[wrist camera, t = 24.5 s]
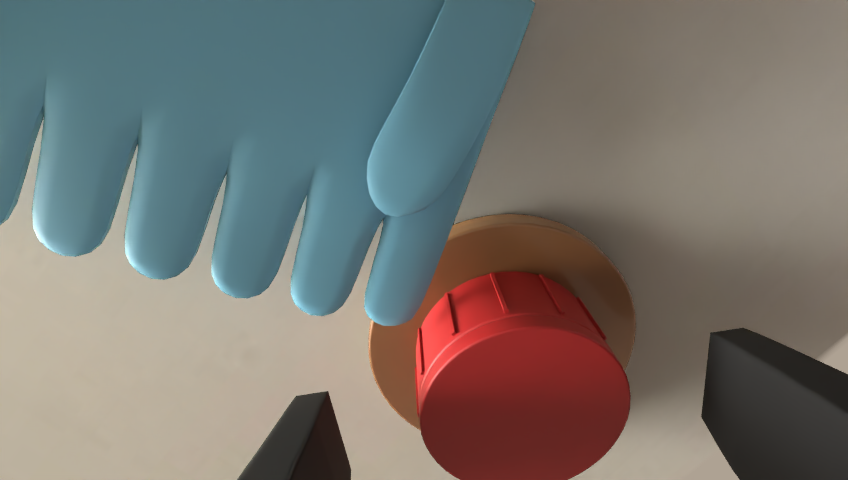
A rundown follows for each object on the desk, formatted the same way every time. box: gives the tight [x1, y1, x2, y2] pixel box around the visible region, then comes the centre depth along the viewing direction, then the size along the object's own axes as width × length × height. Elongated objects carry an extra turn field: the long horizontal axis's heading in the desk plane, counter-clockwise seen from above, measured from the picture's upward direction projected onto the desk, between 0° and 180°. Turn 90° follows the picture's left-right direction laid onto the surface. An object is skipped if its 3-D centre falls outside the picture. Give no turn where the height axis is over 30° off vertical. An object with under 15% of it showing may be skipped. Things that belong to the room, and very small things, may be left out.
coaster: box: [369, 214, 636, 430], centre depth 11 cm, size 6×6×1 cm
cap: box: [415, 271, 631, 480], centre depth 10 cm, size 4×4×2 cm
